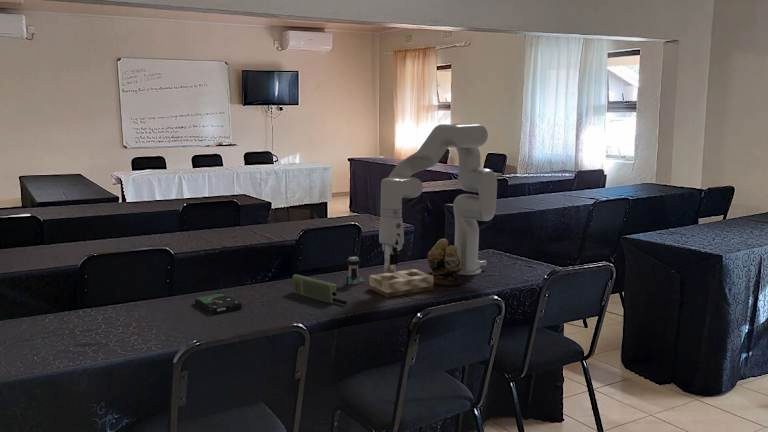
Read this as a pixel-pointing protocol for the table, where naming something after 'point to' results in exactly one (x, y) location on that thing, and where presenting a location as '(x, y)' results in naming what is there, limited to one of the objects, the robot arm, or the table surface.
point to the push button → (353, 271)
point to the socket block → (401, 282)
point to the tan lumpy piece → (444, 264)
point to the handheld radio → (315, 289)
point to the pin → (388, 260)
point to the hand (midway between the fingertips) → (390, 262)
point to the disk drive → (218, 303)
